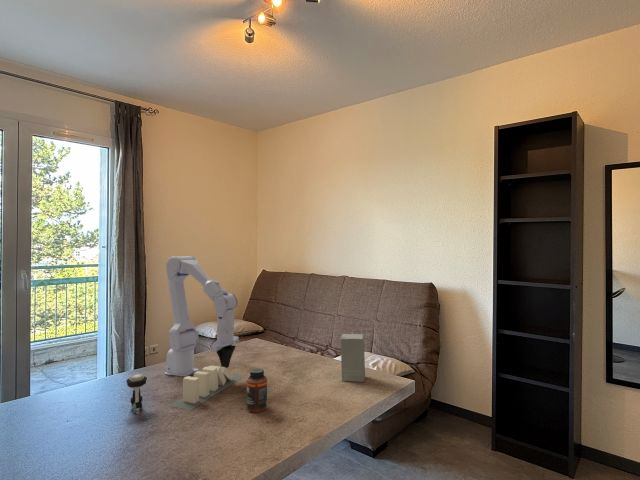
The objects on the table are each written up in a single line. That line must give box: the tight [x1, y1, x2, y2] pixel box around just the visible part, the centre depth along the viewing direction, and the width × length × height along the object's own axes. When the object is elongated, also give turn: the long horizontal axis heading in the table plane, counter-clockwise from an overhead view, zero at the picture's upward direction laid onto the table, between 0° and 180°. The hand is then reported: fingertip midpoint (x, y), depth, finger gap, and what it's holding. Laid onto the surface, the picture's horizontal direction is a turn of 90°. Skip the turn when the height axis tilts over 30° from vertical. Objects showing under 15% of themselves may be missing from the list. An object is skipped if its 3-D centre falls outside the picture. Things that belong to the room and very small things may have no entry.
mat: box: [169, 373, 245, 411], centre depth 120 cm, size 8×30×1 cm, turn 161°
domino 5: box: [218, 365, 234, 381], centre depth 127 cm, size 4×2×7 cm
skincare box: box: [340, 333, 366, 383], centre depth 132 cm, size 8×7×16 cm
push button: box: [126, 373, 148, 415], centre depth 105 cm, size 7×5×10 cm
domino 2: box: [193, 370, 209, 397], centre depth 116 cm, size 4×2×7 cm, turn 71°
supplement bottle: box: [246, 367, 268, 413], centre depth 107 cm, size 6×6×11 cm
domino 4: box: [207, 365, 226, 386], centre depth 123 cm, size 4×2×7 cm, turn 71°
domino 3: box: [201, 366, 218, 391], centre depth 120 cm, size 4×2×7 cm, turn 71°
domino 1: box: [182, 375, 199, 403], centre depth 111 cm, size 4×2×7 cm, turn 71°
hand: (225, 367), depth 128 cm, fingers closed
